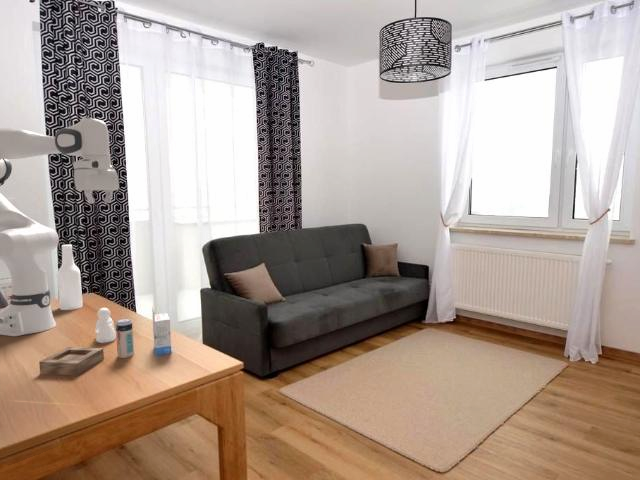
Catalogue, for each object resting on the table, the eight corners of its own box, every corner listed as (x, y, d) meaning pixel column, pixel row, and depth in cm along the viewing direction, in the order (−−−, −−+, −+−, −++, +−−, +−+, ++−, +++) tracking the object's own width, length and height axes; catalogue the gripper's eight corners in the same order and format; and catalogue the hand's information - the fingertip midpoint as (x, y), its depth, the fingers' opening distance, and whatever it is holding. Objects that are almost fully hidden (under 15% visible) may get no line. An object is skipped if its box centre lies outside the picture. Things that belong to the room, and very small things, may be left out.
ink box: (172, 354, 139) (170, 310, 137) (156, 356, 137) (153, 312, 135) (169, 345, 147) (167, 304, 145) (153, 348, 145) (151, 306, 143)
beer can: (121, 353, 140) (118, 318, 138) (136, 353, 140) (134, 317, 139) (115, 359, 135) (112, 322, 134) (131, 359, 135) (128, 322, 134)
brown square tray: (40, 375, 125) (39, 361, 124) (69, 359, 136) (68, 347, 136) (78, 377, 123) (77, 363, 123) (104, 361, 135) (103, 348, 134)
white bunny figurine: (97, 347, 146) (95, 312, 145) (94, 340, 153) (92, 307, 152) (117, 343, 150) (115, 309, 148) (114, 336, 157) (111, 304, 155)
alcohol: (67, 315, 185) (61, 246, 182) (56, 312, 190) (50, 245, 187) (87, 310, 193) (82, 244, 189) (76, 307, 197) (71, 243, 194)
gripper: (106, 166, 164) (109, 202, 165) (69, 162, 144) (72, 204, 145) (122, 166, 163) (124, 202, 165) (86, 162, 143) (89, 203, 144)
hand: (99, 203), depth 155 cm, fingers open, 8 cm apart
